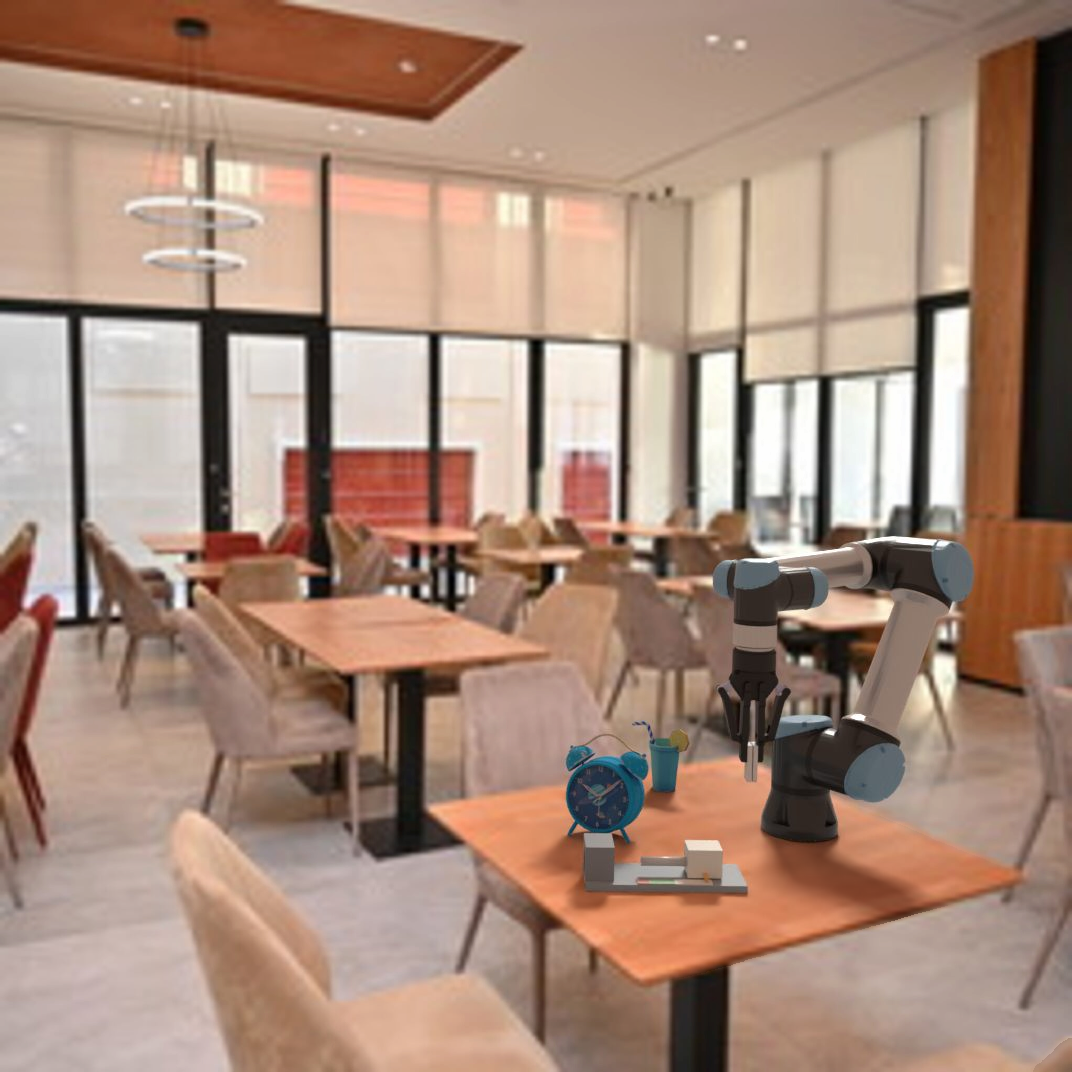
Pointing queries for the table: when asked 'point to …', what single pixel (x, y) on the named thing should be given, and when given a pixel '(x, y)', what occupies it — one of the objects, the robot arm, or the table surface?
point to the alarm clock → (605, 789)
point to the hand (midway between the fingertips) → (750, 779)
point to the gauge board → (647, 873)
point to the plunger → (694, 859)
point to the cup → (665, 758)
